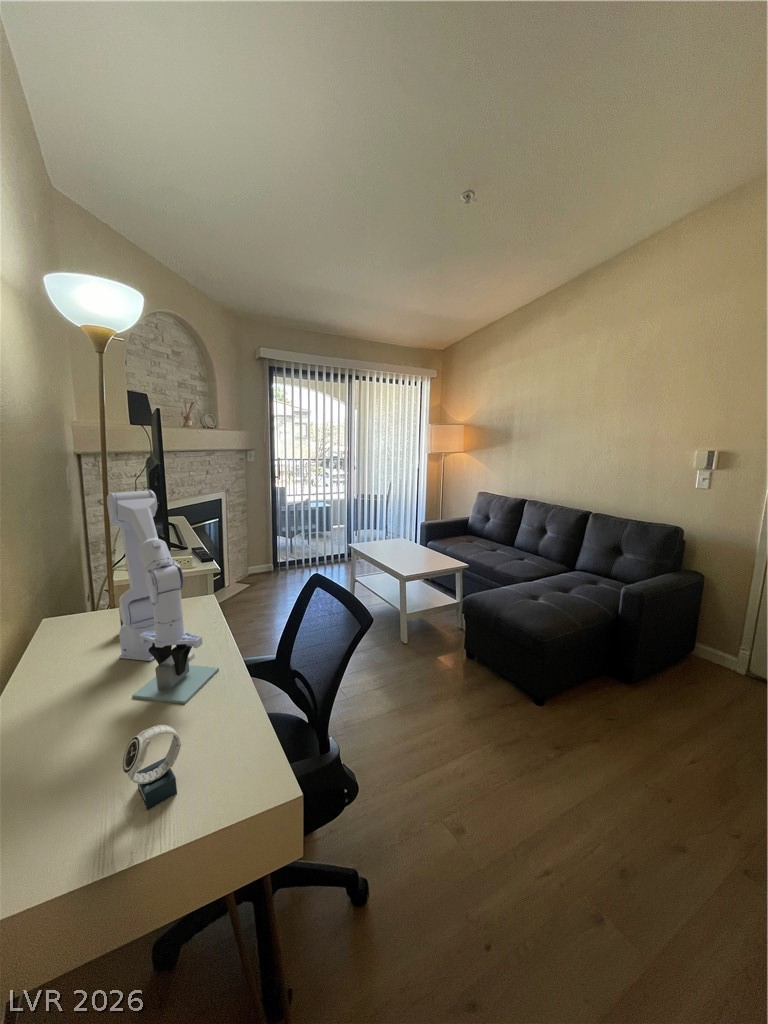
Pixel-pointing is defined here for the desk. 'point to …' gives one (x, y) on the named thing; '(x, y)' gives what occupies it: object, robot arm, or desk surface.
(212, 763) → the desk surface
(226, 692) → the desk surface
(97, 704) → the desk surface
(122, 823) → the desk surface
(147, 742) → the watch
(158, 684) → the plug
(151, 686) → the mat
